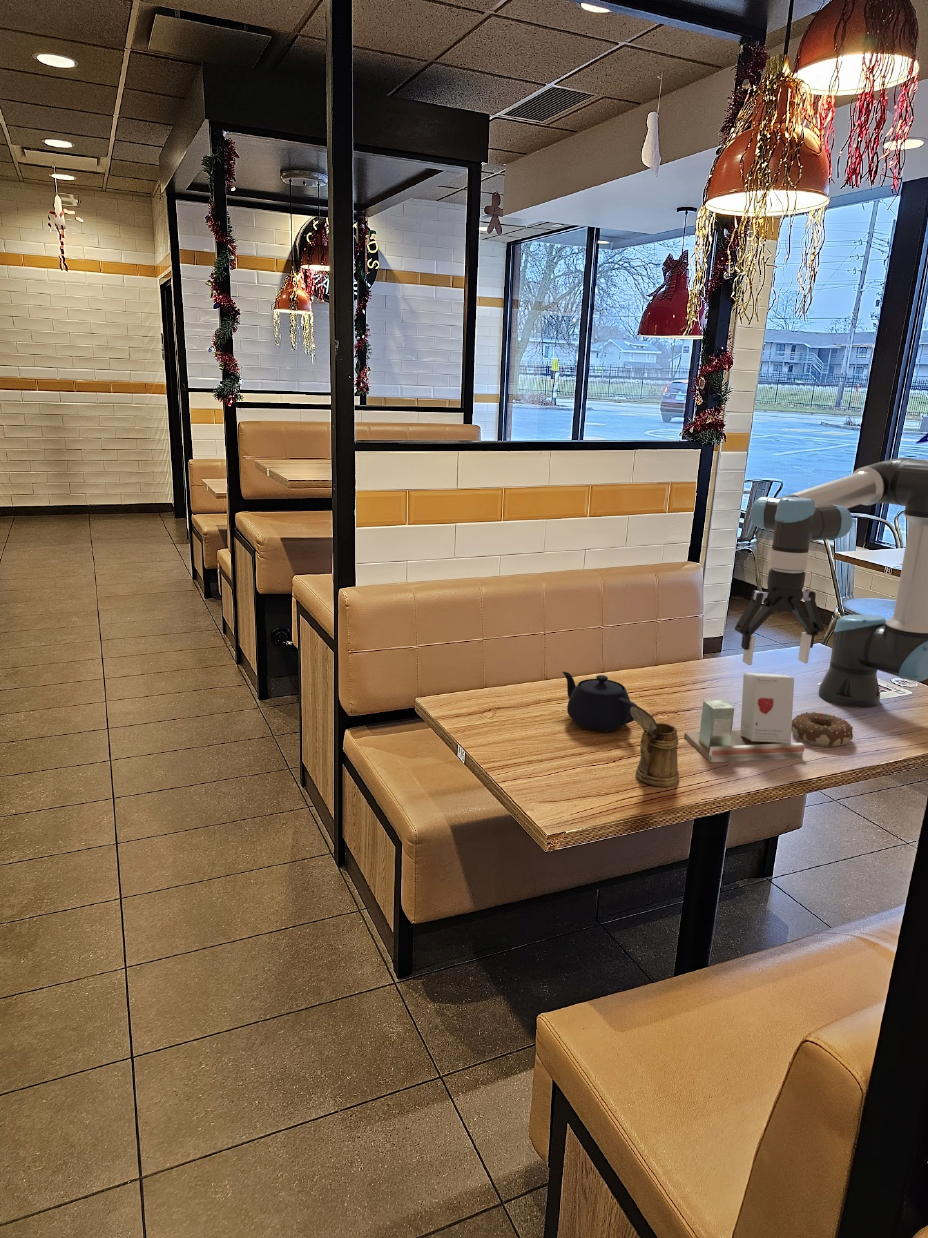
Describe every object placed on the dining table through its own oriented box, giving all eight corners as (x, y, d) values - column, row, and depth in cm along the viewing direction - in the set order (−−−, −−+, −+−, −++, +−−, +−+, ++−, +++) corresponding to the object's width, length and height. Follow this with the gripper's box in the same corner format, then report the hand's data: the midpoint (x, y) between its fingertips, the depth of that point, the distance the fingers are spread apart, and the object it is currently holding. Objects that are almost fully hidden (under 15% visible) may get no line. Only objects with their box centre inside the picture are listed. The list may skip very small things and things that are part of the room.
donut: (853, 754, 190) (857, 734, 189) (789, 744, 195) (792, 724, 193) (849, 732, 203) (852, 713, 202) (789, 723, 208) (792, 704, 206)
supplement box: (751, 742, 186) (754, 675, 186) (739, 735, 195) (742, 672, 195) (792, 743, 186) (795, 676, 186) (778, 737, 195) (781, 673, 195)
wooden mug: (611, 780, 173) (618, 699, 168) (654, 765, 181) (662, 686, 176) (645, 797, 166) (653, 712, 161) (687, 780, 174) (696, 699, 169)
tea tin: (719, 740, 192) (723, 700, 189) (729, 750, 187) (734, 708, 184) (698, 741, 191) (703, 700, 188) (708, 751, 186) (713, 709, 183)
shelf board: (769, 733, 200) (771, 721, 199) (803, 758, 187) (805, 745, 186) (684, 737, 196) (685, 724, 195) (711, 763, 183) (713, 749, 182)
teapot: (656, 732, 199) (661, 684, 196) (612, 747, 190) (616, 696, 186) (581, 701, 218) (585, 656, 215) (537, 713, 209) (540, 666, 205)
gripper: (829, 565, 187) (816, 655, 192) (725, 566, 182) (715, 658, 188) (849, 572, 180) (835, 666, 185) (742, 573, 175) (731, 669, 181)
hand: (775, 662), depth 186 cm, fingers open, 13 cm apart
